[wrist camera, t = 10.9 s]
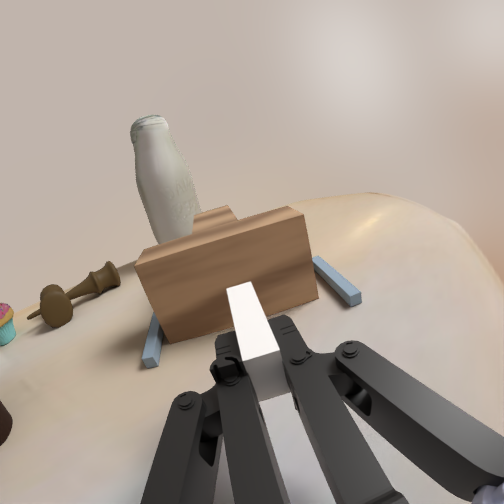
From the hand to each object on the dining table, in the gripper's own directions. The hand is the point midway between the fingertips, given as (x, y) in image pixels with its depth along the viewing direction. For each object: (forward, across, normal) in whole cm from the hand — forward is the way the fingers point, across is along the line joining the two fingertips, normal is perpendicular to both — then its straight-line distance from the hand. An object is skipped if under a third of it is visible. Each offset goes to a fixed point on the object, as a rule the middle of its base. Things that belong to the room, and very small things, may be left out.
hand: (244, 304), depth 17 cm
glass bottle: (+38, -8, -8) cm, 40 cm away
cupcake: (+21, -46, -8) cm, 51 cm away
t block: (+17, -1, -7) cm, 18 cm away
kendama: (+26, -29, -8) cm, 40 cm away
